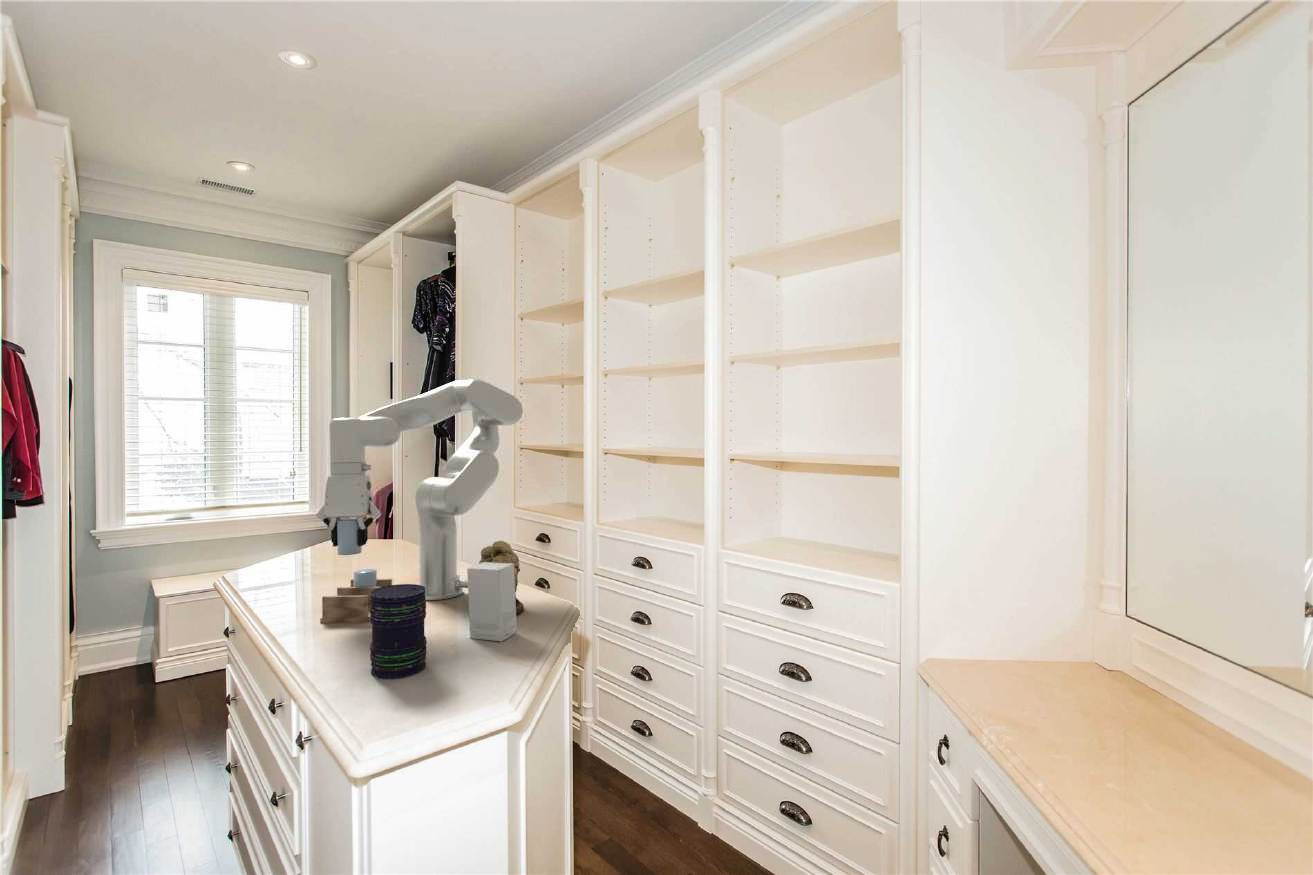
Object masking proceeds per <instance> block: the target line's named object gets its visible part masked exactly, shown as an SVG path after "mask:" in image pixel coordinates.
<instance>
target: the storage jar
mask: <svg viewBox="0 0 1313 875" xmlns="http://www.w3.org/2000/svg"><path fill="white" fill-rule="evenodd" d="M370 598H371V601H370V605H371V606H370V622H369V623H370V624H371V640H372V641H371V643H370V644H369V646H370V647H369V649H370V655H369V660H370V666H371V669H370V675H371V676H372V677H374V678H376V679H378V680H397V679H398V680H399V679H405V678H409V677H413V676H416V675H418V674H421V673H422V672H424V671H425V669H426V668H425V667H427V661H426V658H427V656H426V655H427V642H428V640H427V637H426V636H425V620H426V617H427V609H426V608H427V600H425V587H424V586H421V585H420V584H415V583H413V584H412V583H404V584H403V583H399V584H392V585H390V586H385V587H381V588H377V589H375V590H373V591H371V593H370Z"/></svg>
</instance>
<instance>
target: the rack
mask: <svg viewBox="0 0 1313 875" xmlns="http://www.w3.org/2000/svg"><path fill="white" fill-rule="evenodd" d="M390 585H393V578H377V587H354V578H353V579H352V578H351V579H350V586H339V587H337V588H336V592H337V593H336V595H323V596H322V597H321V598H322V599H321V602H322V604H321V606H322V607H321V608H322V610H321V611H322V612H321V613H322V614H321V615H322V616H321V617H320V620H319V623H320V624H324V623H325V624H327V623H328V624H330V622H331V624H335V623H336V622H339V623H342V624H343V622H345V623H371V622H370V606H371V605H370V601H371V598H370V593H371V591H373V590H375V589H377V588H381V587H385V586H390ZM339 623H338V624H339ZM336 624H337V623H336Z"/></svg>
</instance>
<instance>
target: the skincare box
mask: <svg viewBox="0 0 1313 875" xmlns="http://www.w3.org/2000/svg"><path fill="white" fill-rule="evenodd" d="M466 572H467V580H468V588H467V591H468V592H467V593H468V615H469V620H468V621H469V639H475V640H483V641H495V642H504V641H505V640H507V639H509V638H511V637H512V636H513V635H515V634H516V633H517V628H518V627H517V616H516V600H515V594H516V593H515V573H514V564H511V563H491V562H482V563H480V564H479V563H478V564H475V565H473V566H470V567H467V570H466Z"/></svg>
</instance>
